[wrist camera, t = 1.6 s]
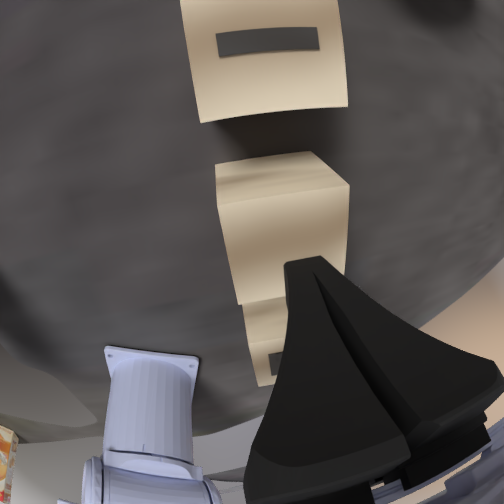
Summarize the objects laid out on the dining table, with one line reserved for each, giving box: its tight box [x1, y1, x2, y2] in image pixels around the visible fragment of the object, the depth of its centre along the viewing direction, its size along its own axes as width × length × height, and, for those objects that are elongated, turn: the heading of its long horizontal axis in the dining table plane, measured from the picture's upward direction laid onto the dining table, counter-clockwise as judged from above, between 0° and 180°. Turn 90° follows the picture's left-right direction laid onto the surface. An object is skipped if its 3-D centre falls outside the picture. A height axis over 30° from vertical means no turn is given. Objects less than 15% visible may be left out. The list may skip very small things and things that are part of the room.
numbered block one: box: [180, 0, 348, 123], centre depth 9 cm, size 5×5×5 cm
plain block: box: [215, 151, 349, 305], centre depth 14 cm, size 5×5×5 cm
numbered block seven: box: [242, 296, 288, 387], centre depth 18 cm, size 5×5×5 cm
